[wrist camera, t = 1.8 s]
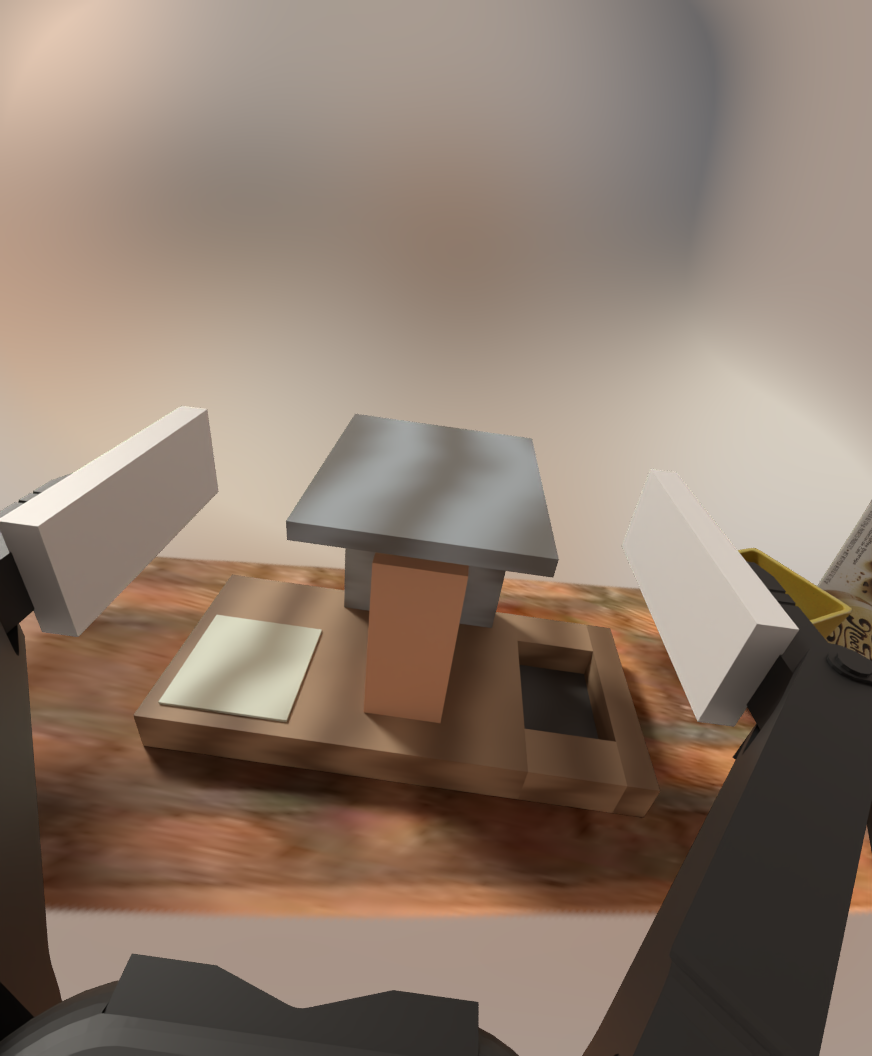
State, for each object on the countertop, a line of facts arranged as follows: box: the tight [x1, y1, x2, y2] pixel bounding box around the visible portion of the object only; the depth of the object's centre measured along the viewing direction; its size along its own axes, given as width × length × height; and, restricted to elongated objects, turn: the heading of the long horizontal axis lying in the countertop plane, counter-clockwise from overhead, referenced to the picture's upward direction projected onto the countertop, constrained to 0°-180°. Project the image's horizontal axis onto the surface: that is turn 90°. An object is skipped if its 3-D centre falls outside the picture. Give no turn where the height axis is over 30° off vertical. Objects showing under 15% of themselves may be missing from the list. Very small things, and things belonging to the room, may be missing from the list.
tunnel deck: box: [133, 414, 660, 817], centre depth 33 cm, size 32×14×18 cm, turn 86°
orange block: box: [363, 553, 469, 723], centre depth 31 cm, size 5×5×12 cm
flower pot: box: [738, 548, 852, 639], centre depth 42 cm, size 9×9×9 cm
